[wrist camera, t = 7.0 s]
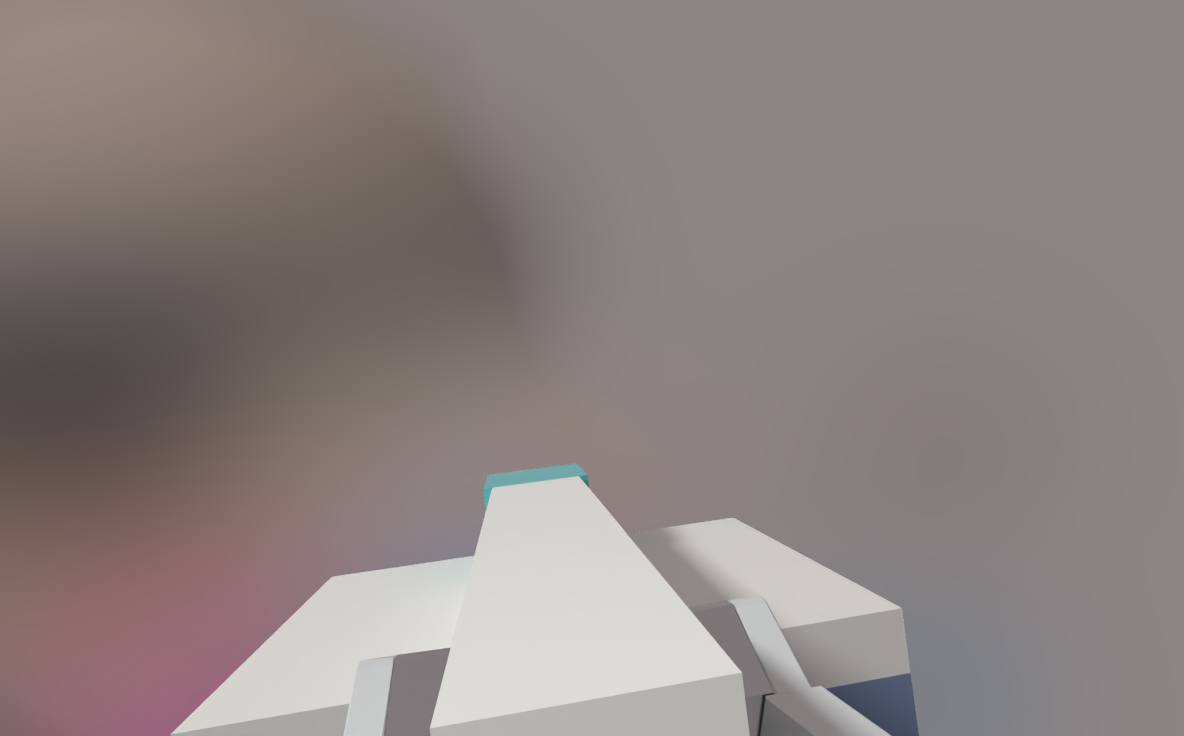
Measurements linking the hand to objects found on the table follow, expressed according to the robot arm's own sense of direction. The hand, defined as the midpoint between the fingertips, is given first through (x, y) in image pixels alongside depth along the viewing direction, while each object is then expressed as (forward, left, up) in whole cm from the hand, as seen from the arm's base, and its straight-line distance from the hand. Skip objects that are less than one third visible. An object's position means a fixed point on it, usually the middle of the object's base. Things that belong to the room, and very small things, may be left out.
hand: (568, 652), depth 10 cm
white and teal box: (+6, 0, -2) cm, 7 cm away
